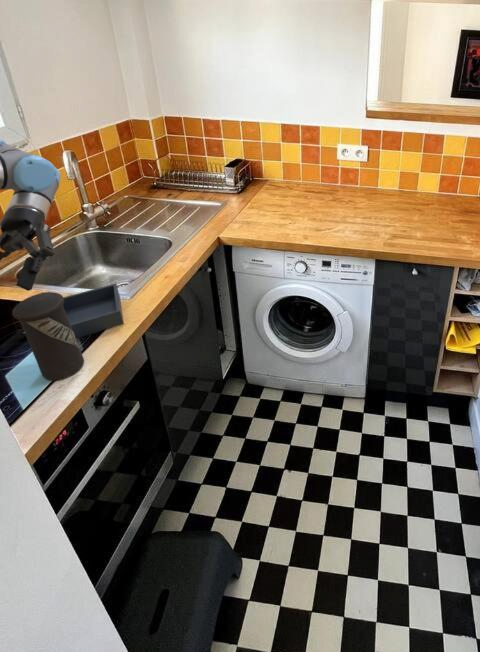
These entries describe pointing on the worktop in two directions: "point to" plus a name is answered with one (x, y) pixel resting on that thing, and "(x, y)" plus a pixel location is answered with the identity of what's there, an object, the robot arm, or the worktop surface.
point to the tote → (94, 310)
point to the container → (50, 335)
